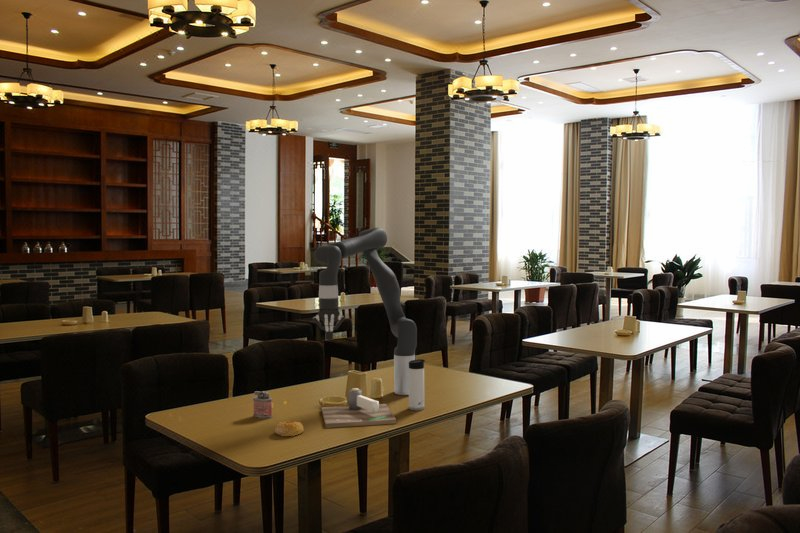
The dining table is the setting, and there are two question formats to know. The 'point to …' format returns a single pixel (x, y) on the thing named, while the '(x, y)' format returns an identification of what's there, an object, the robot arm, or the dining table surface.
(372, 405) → the mallet
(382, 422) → the wooden cutting board
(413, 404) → the travel mug
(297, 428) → the golden round bun
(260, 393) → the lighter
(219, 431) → the dining table surface
